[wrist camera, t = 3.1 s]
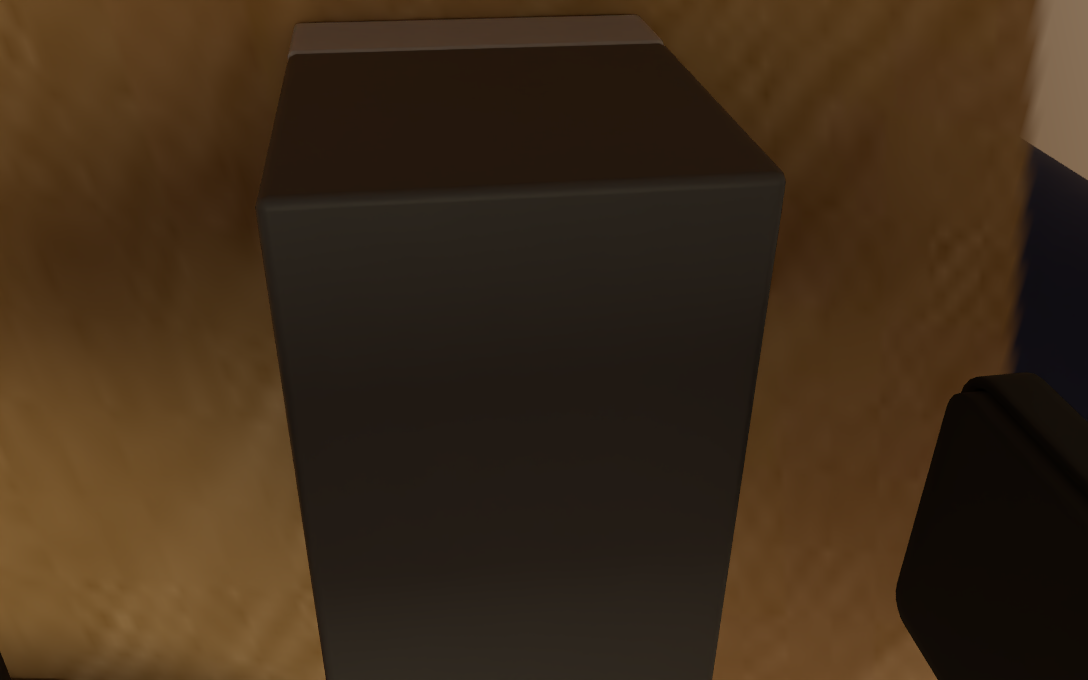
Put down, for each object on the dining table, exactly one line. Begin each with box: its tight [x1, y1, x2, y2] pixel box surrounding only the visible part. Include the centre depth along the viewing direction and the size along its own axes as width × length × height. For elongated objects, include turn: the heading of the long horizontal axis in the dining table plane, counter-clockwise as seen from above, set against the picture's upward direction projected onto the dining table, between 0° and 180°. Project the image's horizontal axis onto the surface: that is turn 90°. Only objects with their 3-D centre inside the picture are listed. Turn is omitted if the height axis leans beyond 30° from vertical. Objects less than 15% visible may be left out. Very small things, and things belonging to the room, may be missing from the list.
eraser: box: [255, 15, 786, 680], centre depth 12 cm, size 4×8×5 cm, turn 179°
